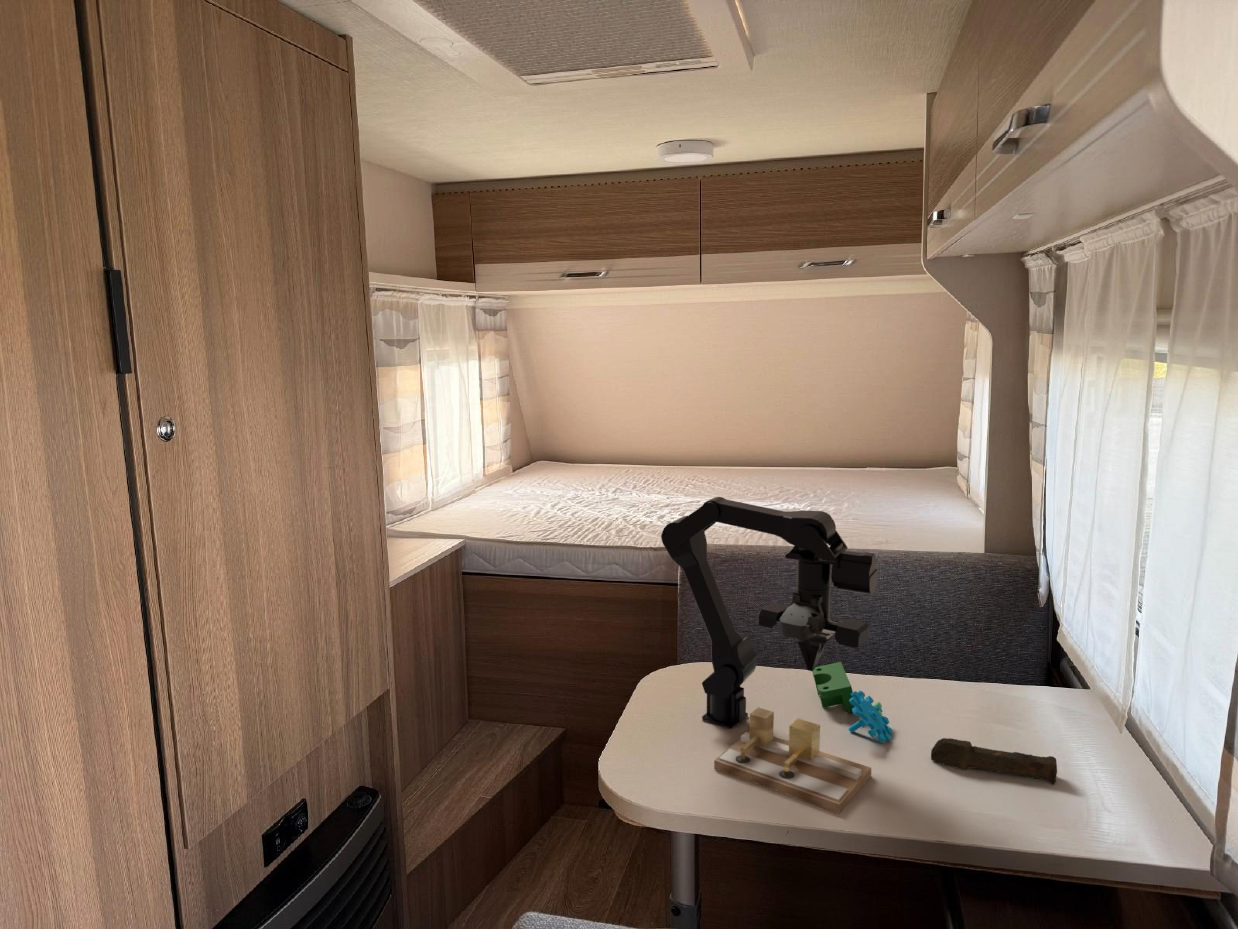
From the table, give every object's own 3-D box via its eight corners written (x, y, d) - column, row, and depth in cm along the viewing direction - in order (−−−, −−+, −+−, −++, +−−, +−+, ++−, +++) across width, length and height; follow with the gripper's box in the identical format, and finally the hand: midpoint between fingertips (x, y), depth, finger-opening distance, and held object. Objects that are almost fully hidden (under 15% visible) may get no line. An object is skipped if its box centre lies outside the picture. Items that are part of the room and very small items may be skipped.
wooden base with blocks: (714, 768, 143) (714, 727, 141) (751, 737, 153) (752, 698, 152) (839, 813, 130) (841, 768, 128) (871, 776, 140) (872, 733, 138)
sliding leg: (774, 770, 138) (774, 738, 137) (797, 749, 145) (797, 718, 144) (796, 778, 136) (797, 746, 135) (819, 756, 142) (820, 725, 141)
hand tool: (1054, 775, 140) (1056, 749, 139) (1056, 788, 136) (1059, 761, 135) (931, 755, 147) (933, 730, 146) (930, 766, 143) (932, 740, 142)
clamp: (822, 713, 171) (810, 668, 173) (852, 707, 170) (840, 661, 172) (826, 718, 159) (813, 669, 162) (858, 711, 159) (845, 662, 161)
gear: (885, 746, 146) (848, 696, 149) (859, 763, 149) (823, 713, 152) (903, 728, 155) (867, 681, 159) (878, 744, 158) (844, 698, 161)
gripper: (742, 587, 146) (741, 673, 149) (847, 609, 135) (843, 701, 138) (772, 571, 155) (771, 652, 158) (872, 590, 144) (869, 677, 147)
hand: (811, 670), depth 150 cm, fingers closed
